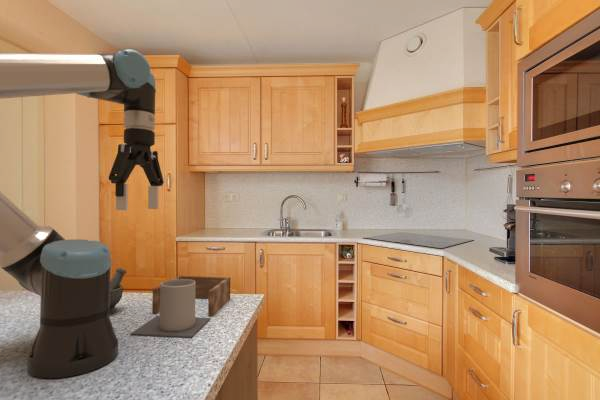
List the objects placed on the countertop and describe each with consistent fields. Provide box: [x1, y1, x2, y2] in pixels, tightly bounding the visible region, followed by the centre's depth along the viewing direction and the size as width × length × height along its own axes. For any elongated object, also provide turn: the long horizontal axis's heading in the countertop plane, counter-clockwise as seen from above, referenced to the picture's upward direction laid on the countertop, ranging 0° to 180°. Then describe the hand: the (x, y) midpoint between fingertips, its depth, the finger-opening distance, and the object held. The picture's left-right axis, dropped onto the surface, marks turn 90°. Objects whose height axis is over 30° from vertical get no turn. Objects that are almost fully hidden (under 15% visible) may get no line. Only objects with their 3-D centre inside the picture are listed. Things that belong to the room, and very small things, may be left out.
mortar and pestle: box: [109, 267, 127, 315], centre depth 100 cm, size 11×9×12 cm
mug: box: [159, 278, 196, 332], centre depth 90 cm, size 12×8×11 cm
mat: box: [129, 315, 211, 339], centre depth 89 cm, size 13×15×1 cm
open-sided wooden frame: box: [151, 275, 231, 317], centre depth 107 cm, size 18×17×7 cm
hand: (138, 209), depth 93 cm, fingers open, 13 cm apart
